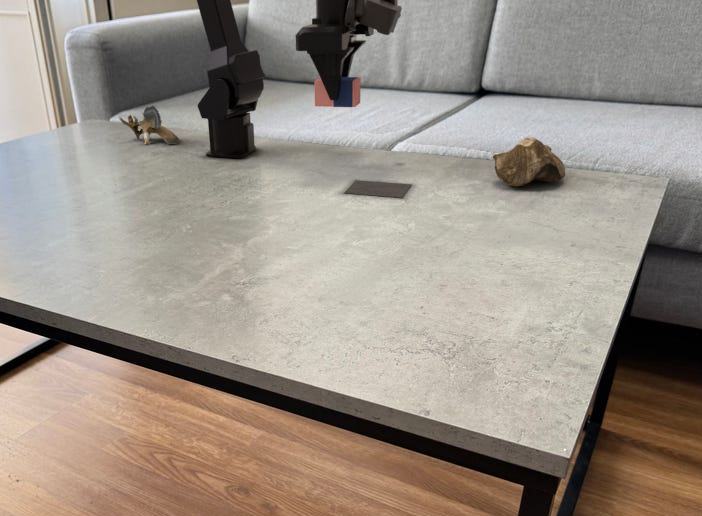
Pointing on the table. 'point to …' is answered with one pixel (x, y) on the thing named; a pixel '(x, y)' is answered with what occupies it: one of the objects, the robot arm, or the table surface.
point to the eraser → (347, 93)
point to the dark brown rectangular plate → (378, 189)
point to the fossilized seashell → (528, 163)
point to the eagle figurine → (151, 126)
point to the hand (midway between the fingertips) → (337, 97)
